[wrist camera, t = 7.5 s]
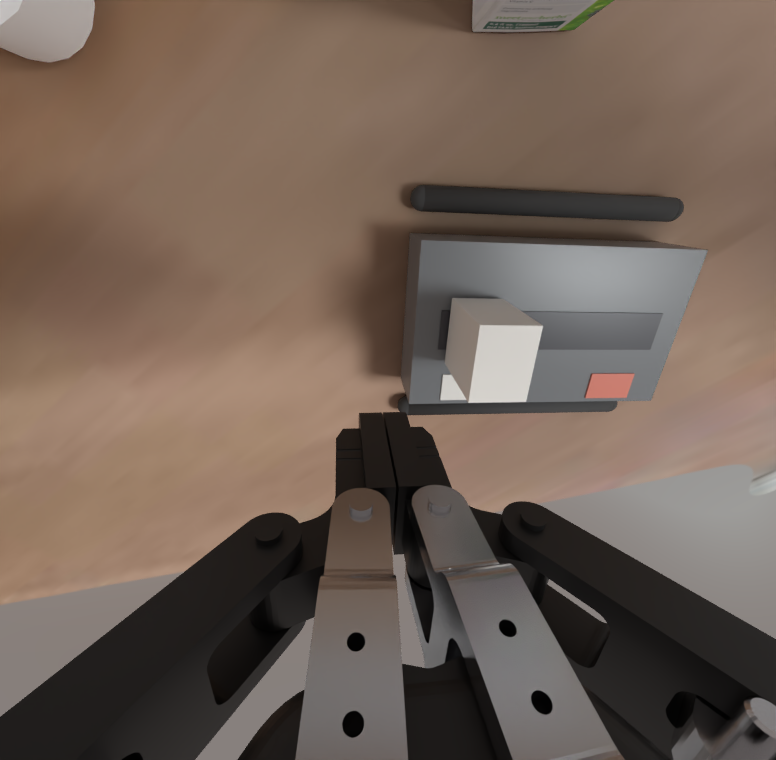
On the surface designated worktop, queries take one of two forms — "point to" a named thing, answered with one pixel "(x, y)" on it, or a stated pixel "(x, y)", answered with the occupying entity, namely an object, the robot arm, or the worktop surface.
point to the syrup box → (532, 14)
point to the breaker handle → (491, 349)
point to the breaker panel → (552, 310)
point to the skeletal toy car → (45, 27)
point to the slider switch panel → (534, 205)
